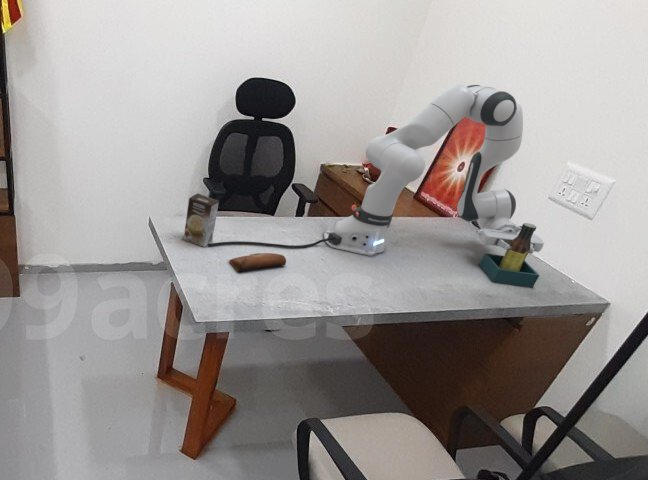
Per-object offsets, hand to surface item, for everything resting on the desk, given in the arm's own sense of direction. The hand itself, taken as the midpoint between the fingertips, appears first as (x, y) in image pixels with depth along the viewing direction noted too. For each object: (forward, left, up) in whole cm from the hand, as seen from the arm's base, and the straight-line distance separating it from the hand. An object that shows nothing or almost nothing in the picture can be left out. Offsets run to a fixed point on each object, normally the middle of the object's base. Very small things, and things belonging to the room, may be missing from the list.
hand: (520, 250), depth 179 cm
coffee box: (-111, -6, -11) cm, 112 cm away
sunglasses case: (-90, -18, -11) cm, 93 cm away
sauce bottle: (0, +1, -11) cm, 11 cm away
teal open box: (0, +1, -11) cm, 11 cm away
